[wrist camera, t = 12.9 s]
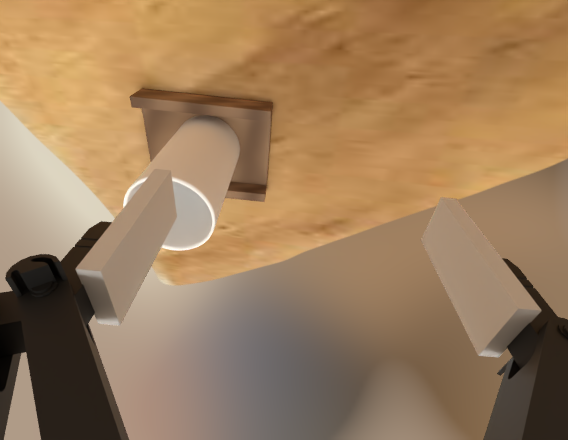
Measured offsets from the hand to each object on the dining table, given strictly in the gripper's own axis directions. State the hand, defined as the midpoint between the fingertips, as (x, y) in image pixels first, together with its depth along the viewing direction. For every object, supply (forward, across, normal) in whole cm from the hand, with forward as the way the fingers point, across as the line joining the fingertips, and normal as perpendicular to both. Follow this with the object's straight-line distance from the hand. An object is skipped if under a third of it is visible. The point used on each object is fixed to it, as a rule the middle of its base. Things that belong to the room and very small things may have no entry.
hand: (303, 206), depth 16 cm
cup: (+26, +11, +9) cm, 30 cm away
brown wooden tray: (+27, +11, +9) cm, 30 cm away
